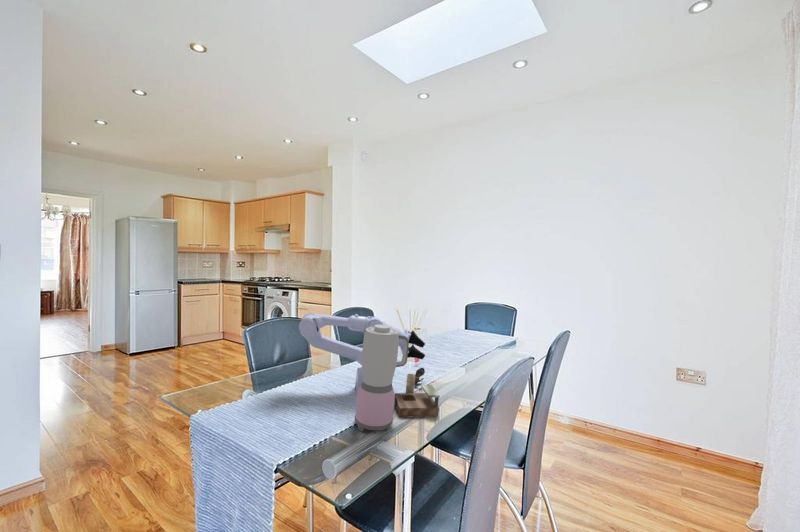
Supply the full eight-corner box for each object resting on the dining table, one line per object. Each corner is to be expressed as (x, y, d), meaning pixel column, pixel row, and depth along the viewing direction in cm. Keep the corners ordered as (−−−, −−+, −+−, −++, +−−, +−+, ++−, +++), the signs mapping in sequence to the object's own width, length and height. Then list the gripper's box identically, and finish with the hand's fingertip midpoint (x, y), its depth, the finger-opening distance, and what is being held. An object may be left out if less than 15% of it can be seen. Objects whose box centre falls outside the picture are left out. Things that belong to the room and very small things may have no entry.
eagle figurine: (428, 386, 146) (428, 374, 155) (420, 372, 145) (420, 361, 154) (412, 393, 148) (413, 381, 156) (403, 379, 146) (405, 368, 155)
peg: (406, 397, 136) (408, 376, 136) (404, 393, 139) (406, 373, 139) (414, 396, 137) (416, 376, 137) (412, 393, 140) (414, 373, 140)
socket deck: (399, 416, 120) (401, 396, 119) (392, 401, 132) (393, 382, 131) (438, 416, 123) (440, 396, 123) (427, 400, 135) (429, 382, 134)
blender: (357, 435, 106) (366, 330, 104) (351, 415, 118) (359, 321, 116) (406, 431, 111) (416, 331, 109) (396, 413, 122) (404, 322, 120)
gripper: (398, 339, 131) (429, 355, 133) (400, 318, 145) (429, 333, 147) (389, 352, 134) (419, 368, 136) (392, 330, 147) (420, 345, 149)
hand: (423, 351), depth 141 cm, fingers open, 7 cm apart
